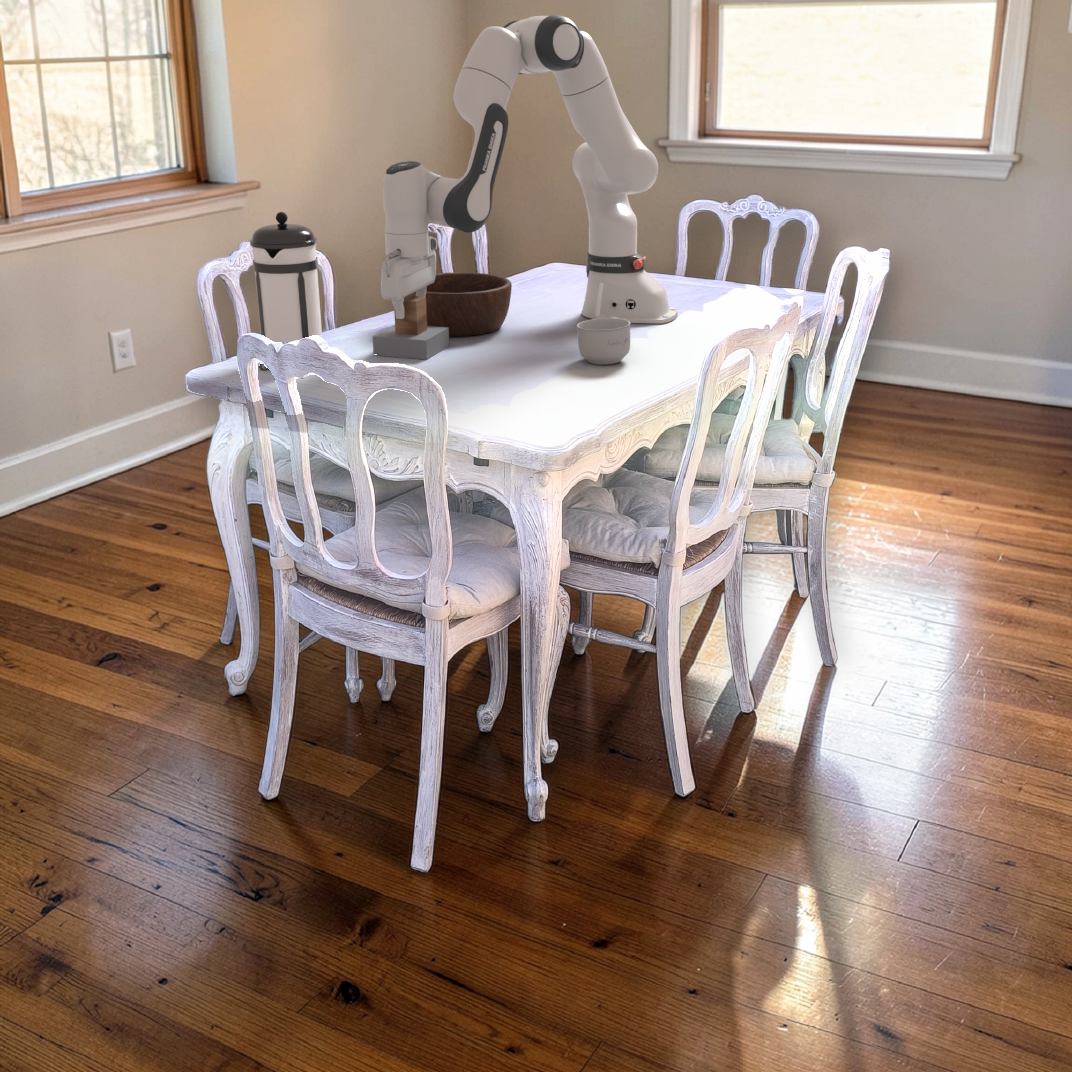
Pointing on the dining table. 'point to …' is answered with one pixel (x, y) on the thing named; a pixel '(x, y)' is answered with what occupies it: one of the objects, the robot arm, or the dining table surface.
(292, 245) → the coffee press
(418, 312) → the walnut block
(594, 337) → the teacup
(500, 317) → the wooden bowl
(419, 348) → the block
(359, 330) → the dining table surface
